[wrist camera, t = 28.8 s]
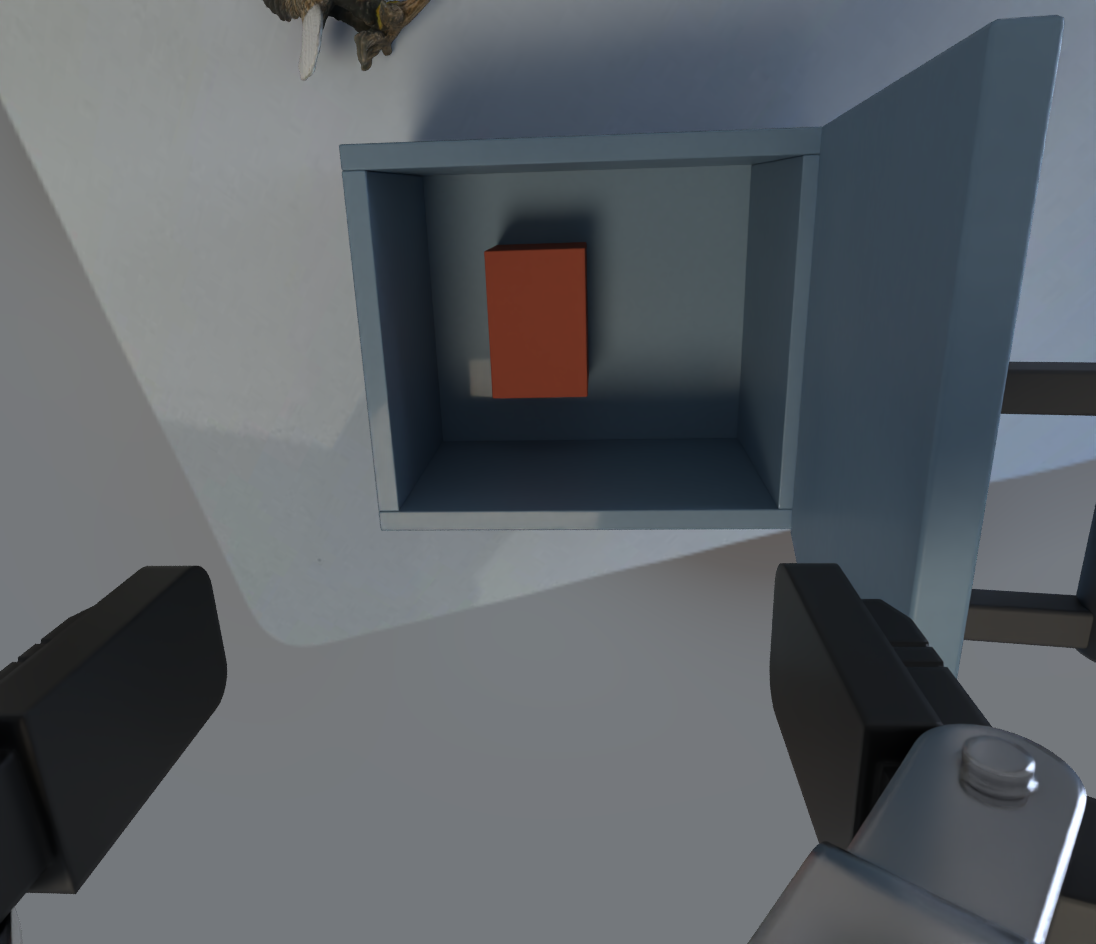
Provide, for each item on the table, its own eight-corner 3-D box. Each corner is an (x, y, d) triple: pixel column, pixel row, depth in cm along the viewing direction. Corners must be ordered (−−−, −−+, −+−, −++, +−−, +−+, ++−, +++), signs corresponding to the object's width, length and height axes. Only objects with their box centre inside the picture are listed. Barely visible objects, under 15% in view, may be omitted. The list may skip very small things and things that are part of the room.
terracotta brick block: (588, 376, 37) (587, 396, 33) (503, 377, 37) (492, 398, 33) (586, 242, 35) (585, 247, 31) (496, 244, 35) (483, 251, 31)
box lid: (867, 919, 14) (1202, 967, 13) (991, 16, 9) (1530, -20, 8) (790, 533, 29) (938, 541, 28) (821, 125, 24) (1001, 117, 23)
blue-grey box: (431, 451, 39) (380, 531, 30) (407, 157, 35) (338, 144, 26) (750, 448, 38) (798, 529, 29) (767, 144, 34) (831, 126, 24)
